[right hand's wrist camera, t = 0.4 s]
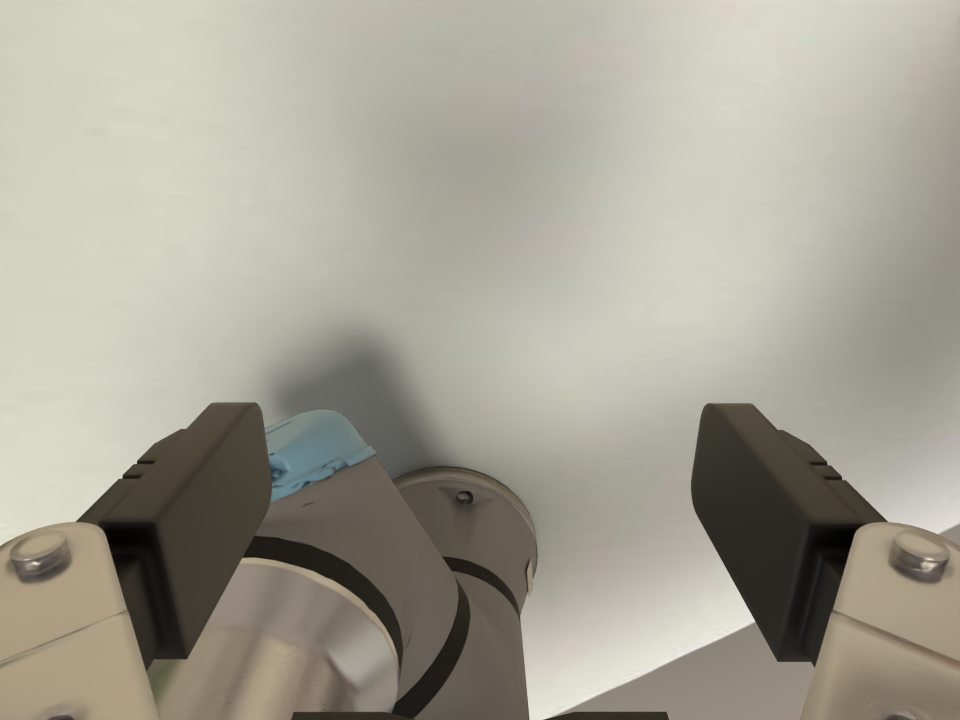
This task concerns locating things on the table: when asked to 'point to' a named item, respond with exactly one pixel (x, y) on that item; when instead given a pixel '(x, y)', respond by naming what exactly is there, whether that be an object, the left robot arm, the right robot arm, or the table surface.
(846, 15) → the table surface
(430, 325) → the table surface
